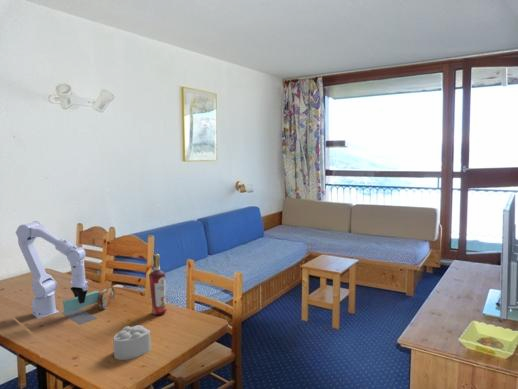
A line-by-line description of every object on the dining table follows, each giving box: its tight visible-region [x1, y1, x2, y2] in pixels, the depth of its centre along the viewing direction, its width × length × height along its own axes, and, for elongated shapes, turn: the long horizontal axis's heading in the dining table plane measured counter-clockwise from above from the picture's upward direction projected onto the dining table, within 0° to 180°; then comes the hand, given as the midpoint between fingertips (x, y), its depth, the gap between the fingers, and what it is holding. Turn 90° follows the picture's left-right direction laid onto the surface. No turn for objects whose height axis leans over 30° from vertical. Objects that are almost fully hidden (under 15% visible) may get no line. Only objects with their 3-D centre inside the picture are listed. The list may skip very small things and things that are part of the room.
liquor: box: [148, 253, 167, 316], centre depth 179 cm, size 7×7×28 cm
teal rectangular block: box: [62, 290, 101, 313], centre depth 182 cm, size 16×2×5 cm, turn 138°
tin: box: [97, 286, 115, 310], centre depth 190 cm, size 15×3×8 cm, turn 0°
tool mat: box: [61, 308, 98, 325], centre depth 179 cm, size 8×20×1 cm, turn 48°
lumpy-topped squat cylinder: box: [112, 324, 152, 361], centre depth 146 cm, size 10×13×9 cm
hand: (80, 302), depth 181 cm, fingers closed on teal rectangular block, 2 cm apart
